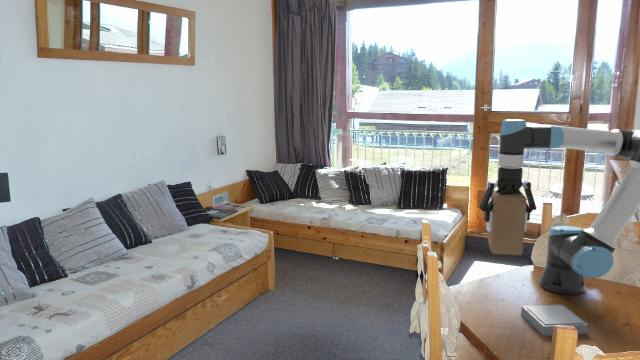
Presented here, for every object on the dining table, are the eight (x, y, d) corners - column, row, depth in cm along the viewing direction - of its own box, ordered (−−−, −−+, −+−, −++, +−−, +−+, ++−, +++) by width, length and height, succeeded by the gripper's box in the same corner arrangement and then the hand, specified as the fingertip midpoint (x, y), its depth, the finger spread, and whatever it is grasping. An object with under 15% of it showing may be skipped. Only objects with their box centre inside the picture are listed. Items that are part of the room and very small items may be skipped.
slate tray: (561, 313, 163) (562, 303, 163) (587, 333, 150) (588, 324, 149) (520, 314, 162) (521, 305, 162) (543, 335, 149) (543, 325, 148)
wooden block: (523, 256, 162) (527, 197, 158) (491, 254, 164) (494, 196, 160) (517, 246, 171) (521, 190, 168) (487, 245, 174) (491, 189, 170)
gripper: (539, 164, 167) (534, 226, 171) (471, 165, 165) (467, 228, 169) (551, 167, 159) (545, 232, 163) (479, 169, 158) (476, 234, 162)
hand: (506, 230), depth 166 cm, fingers closed on wooden block, 11 cm apart
